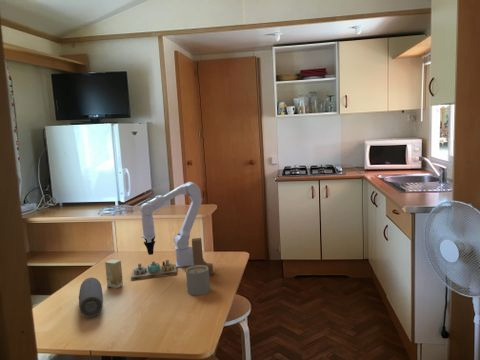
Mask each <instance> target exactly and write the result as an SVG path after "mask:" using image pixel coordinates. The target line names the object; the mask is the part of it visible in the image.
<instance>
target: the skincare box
mask: <svg viewBox="0 0 480 360" xmlns="http://www.w3.org/2000/svg"><path fill="white" fill-rule="evenodd" d="M104 265H105V266H104V267H105V274H106V275H105V276H106V285H107V287H108V288H114V289H118V288H120V287H122V286H123V285H124V281H123V273H122V272H123V270H122V268H123V267H122V260H119V259H112V258H111V259H108V260H107V261H105V262H104Z"/></svg>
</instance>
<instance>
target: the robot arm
mask: <svg viewBox="0 0 480 360" xmlns="http://www.w3.org/2000/svg"><path fill="white" fill-rule="evenodd" d="M180 195H184V196H185V195H186V196H187V195H188V196H189V199H190V201H191V202H190V204H189V207H188V210H187V213H186V215H185V217H184V220H183V223H182V225H181V228H180V229H179V231H178V232H177V234H176V235H175V236H174V239H173V242H174V244H175V247H174V250H175V264H176V268H182V267H191V266H194V262H193V251H192V246H189V245H190V237H191V231H192V228H193V226H194V223H195V221H196V218H197V215H198V213H199V210H200V208H201V205H202V203H203V199H202V198H203V197H202V193H201V188H200V186H199V185H197V184H196V183H194V182H193V181H187V182H186V183H182V184H181V185H179V186H178V187H175V189H173V190H171V191H169V192H168V193H166V194H165V195H156V196H155V197H153V199H151V200H147V202H145V203H142V204H141V206H140V208H139V211H140V213H141V223H142V224H141V225H142V235H141V236H140V238H143V239H144V240H145V241H143V245H144V246H145V248H146V251H147V254H148V255H151V256H152V255H154V249H155V244H156V240H155V239H156V233H155V232H156V231H155V222H154V217H153V214H154V212H156V211H157V210H159V209H161V208H162V207H165V206H166V204H167V202H169V201H170V200H172V199H175V198H176V197H179V196H180Z"/></svg>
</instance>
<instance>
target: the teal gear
mask: <svg viewBox="0 0 480 360" xmlns="http://www.w3.org/2000/svg"><path fill="white" fill-rule="evenodd" d="M160 266H161V265H160V263H159V262H155V266H152V263H149V264H148V265H147V268H148V272H150V273H151V272H153V273H154V272H158V271H159V270H160Z"/></svg>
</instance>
